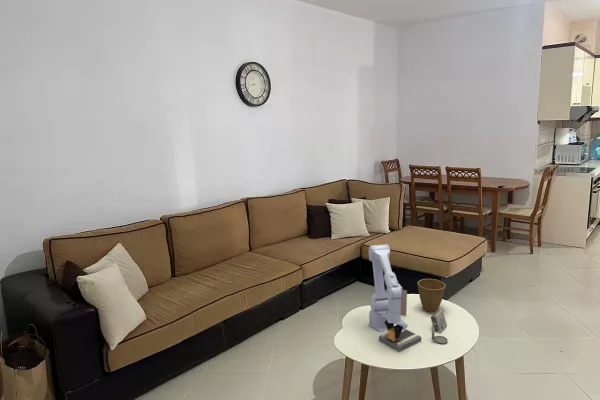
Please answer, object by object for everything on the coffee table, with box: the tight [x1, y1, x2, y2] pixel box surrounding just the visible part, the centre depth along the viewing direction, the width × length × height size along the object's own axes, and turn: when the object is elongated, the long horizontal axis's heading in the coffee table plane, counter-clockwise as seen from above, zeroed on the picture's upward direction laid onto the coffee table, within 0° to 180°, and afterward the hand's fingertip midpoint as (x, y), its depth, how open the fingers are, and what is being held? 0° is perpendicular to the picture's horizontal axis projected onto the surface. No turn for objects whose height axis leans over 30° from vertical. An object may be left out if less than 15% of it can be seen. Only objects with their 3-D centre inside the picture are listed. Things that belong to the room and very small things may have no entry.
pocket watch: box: [431, 321, 449, 345], centre depth 211 cm, size 8×8×10 cm
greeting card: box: [388, 289, 408, 317], centre depth 238 cm, size 11×7×15 cm, turn 25°
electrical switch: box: [430, 309, 448, 334], centre depth 223 cm, size 9×5×9 cm, turn 141°
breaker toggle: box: [387, 327, 400, 341], centre depth 209 cm, size 4×4×5 cm
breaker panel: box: [378, 328, 422, 353], centre depth 212 cm, size 13×16×3 cm
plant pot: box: [417, 278, 446, 314], centre depth 242 cm, size 15×15×16 cm
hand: (394, 336), depth 209 cm, fingers closed on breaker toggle, 4 cm apart
